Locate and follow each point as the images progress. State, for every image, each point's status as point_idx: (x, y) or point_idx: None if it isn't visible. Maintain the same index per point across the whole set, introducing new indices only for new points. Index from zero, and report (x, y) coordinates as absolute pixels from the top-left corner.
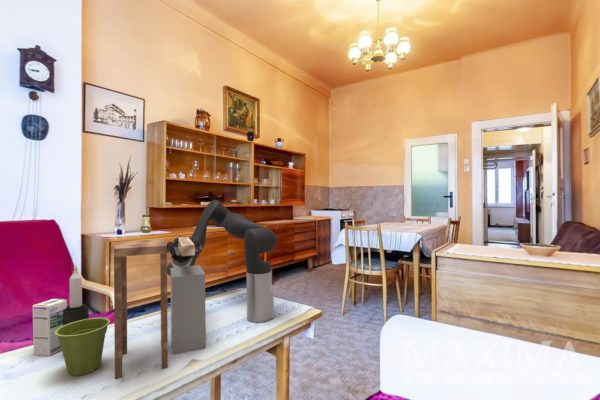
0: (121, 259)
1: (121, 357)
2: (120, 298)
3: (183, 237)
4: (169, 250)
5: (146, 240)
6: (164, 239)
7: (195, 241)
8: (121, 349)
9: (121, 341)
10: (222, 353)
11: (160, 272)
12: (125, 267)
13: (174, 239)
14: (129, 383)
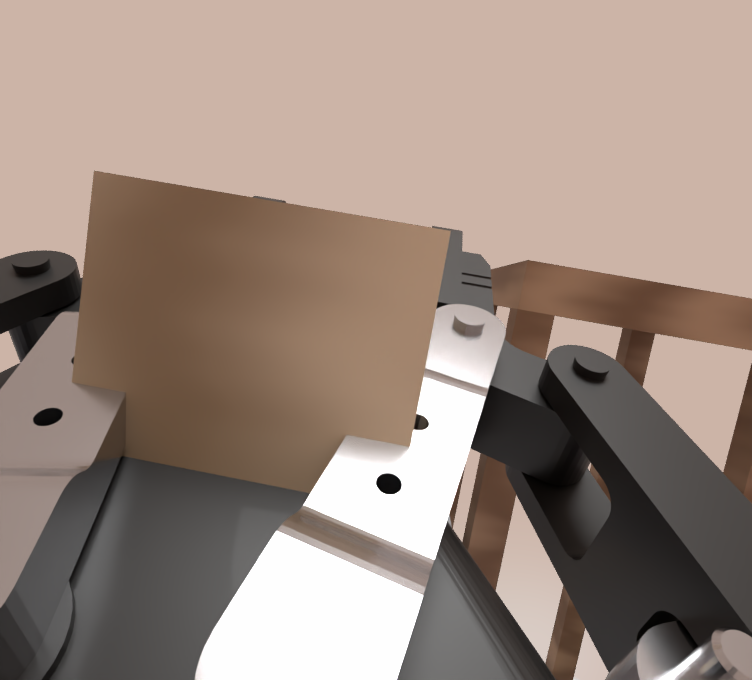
0: (627, 342)
1: (548, 657)
2: (592, 470)
3: (260, 205)
4: (561, 541)
5: (656, 282)
6: (534, 261)
7: (76, 276)
8: (553, 632)
9: (558, 608)
10: None
11: (514, 499)
12: (727, 468)
13: (482, 268)
14: None
